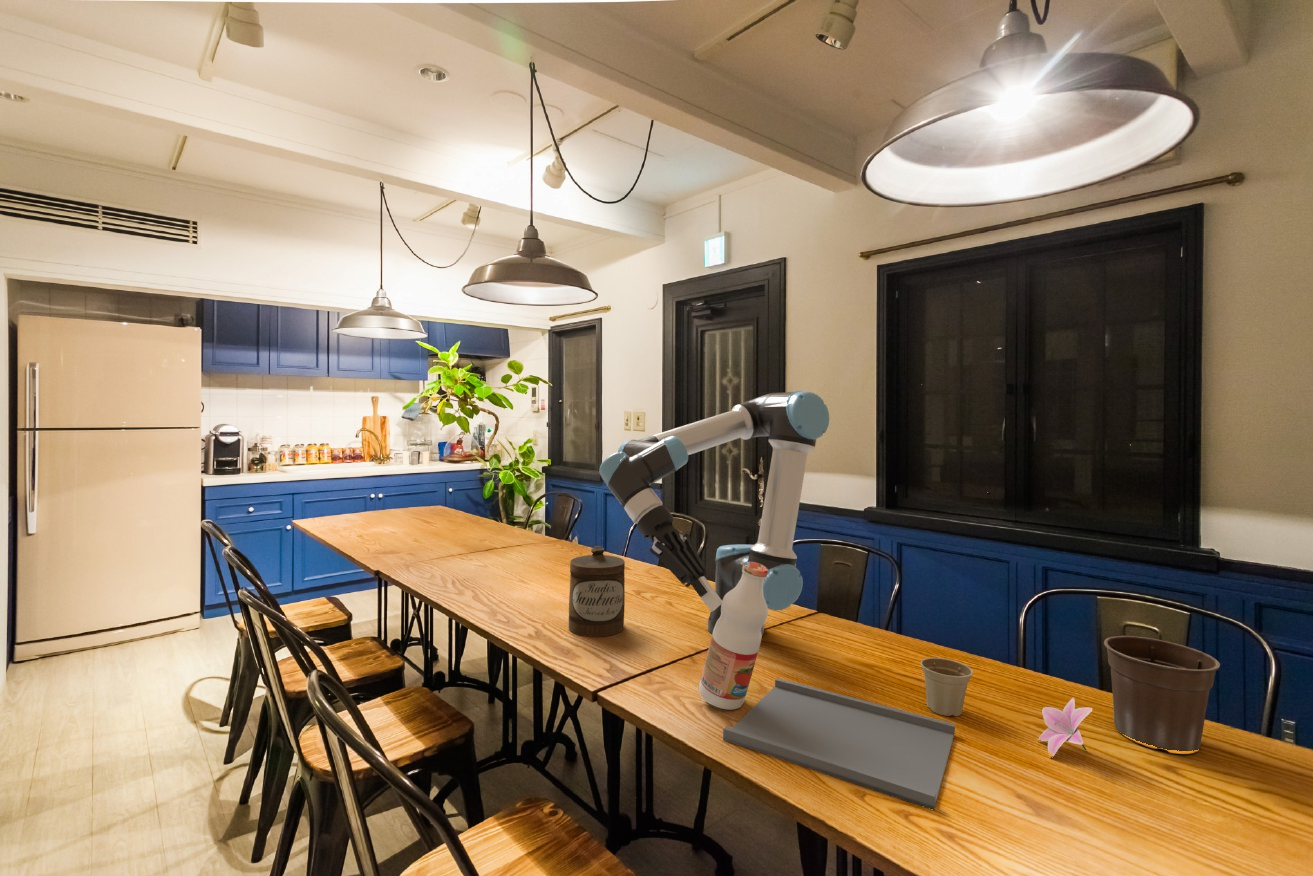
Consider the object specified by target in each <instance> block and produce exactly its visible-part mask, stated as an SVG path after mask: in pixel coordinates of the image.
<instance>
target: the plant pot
mask: <svg viewBox="0 0 1313 876" xmlns="http://www.w3.org/2000/svg"><path fill="white" fill-rule="evenodd" d="M1103 645H1104V647H1105V648H1106V651H1107V661H1108V662H1107V663H1108V665H1109V667H1110V677H1111V690H1112V706H1113V708H1112V709H1113V723H1114V727H1115V729H1117V730H1118V731H1119V732H1121V733H1122V734H1124V735H1126V736H1128V737H1130V738H1132V739H1135V740H1136V741H1140V742H1142V743H1146V744H1148V745H1153V746H1155V747H1157V748H1163V749H1167V750H1177V751H1178V750H1179V751H1192V750H1193V751H1194V750H1198V749H1199V748H1200V749H1201V745H1202V737H1203V732H1204V727H1205V721H1206V714H1207V708H1208V702H1209V696H1210V691H1211V689H1212V688H1213V686H1214V684H1215V683H1214V681H1215V676H1216V671H1218V670H1220V667H1221V663H1220V661H1218V660H1217V659H1216V658H1214V657H1213V656H1211V655H1210V654H1207V653H1206V652H1203V651H1201V650H1198V649H1196V648H1192V647H1188V646H1186V645H1183V644H1179V643H1174V642H1172V641H1167V640H1161V639H1158V638H1157V639H1156V638H1152V637H1144V636H1133V635H1118V636H1111V637H1110V636H1109V637H1107V638H1105V639H1104V641H1103ZM1117 730H1116V731H1117ZM1118 731H1117V732H1118ZM1119 732H1118V733H1119ZM1163 749H1162V750H1163Z"/></svg>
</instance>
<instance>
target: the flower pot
mask: <svg viewBox="0 0 1313 876" xmlns="http://www.w3.org/2000/svg"><path fill="white" fill-rule="evenodd" d="M919 664H920V666H921V668H922V672H923V675H924V685H925V687H924V688H925V695H926V696H925V697H926V706H927V708H929V709H930V711H932V712H933V713H936V714H938V715H940V716H941V715H942V716H944V717H949V716H954V717H959V716H960V715H962V713H963V707H964V702H965V697H966V693H967V687H968V684H969V682H970V681H971V677H972V676H973V675H974V671H973V669H972V668H971V667H969V665H966V664H965V663H962V662H959V661H956V660H953V659H949V658H948V659H947V658H941V657H940V658H939V657H927V658H923V659H921V661H920V663H919Z"/></svg>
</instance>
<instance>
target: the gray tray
mask: <svg viewBox="0 0 1313 876" xmlns="http://www.w3.org/2000/svg"><path fill="white" fill-rule="evenodd" d="M722 730H723V732H722V740H723V741H725V742H728V743H731V744H734V745H737V746H740V747H743V748H746V749H749V750H752V751H756V752H758V753H761V754H764V755H767V756H770V757H772V758H776V759H778V760H782V761H785V762H788V763H790V764H794V765H798V766H800V767H802V768H805V769H807V770H808V769H809V770H812V771H814V772H818V773H821V774H825V775H826V776H829V777H833V778H835V779H839V780H842V781H845V782H848V783H851V784H854V785H857V786H859V787H863V788H866V789H868V790H872V791H875V792H878V793H881V794H884V795H887V796H890V797H893V798H896V799H899V800H902V801H905V802H907V803H911V804H914V805H916V804H917V806H919V805H920V806H919V807H922V806H924V807H923V808H926V809H928V808H930V809H929V810H931V809H933V810H932V811H935V809H936V806H937V802H936V801H938V797H939V795H940V791H939V790H941V787H942V783H943V780H944V776H943V775H945V771H946V769H945V768H947V765H946V764H948V761H949V757H948V756H950V754H949V753H951V750H950V749H952V746H951V745H953V743H954V739H955V735H956V734H955V732H956V724H955V723H953V722H950V721H949V722H948V721H945V720H940V719H936V718H933V717H930V716H925V715H921V714H917V713H914V712H909V711H906V710H902V709H897V708H895V707H892V706H891V707H890V706H886V705H883V704H880V703H879V704H878V703H876V702H872V701H867V700H865V699H864V700H863V699H859V698H856V697H852V696H847V695H844V694H840V693H836V692H832V691H829V690H826V689H821V688H817V687H813V686H810V685H805V684H803V683H802V684H801V683H799V682H795V681H791V680H786V679H783V678H779V677H777V678H775V680H774V687H772V689H770V691H768V692H767V693H766V695H764V696H763V697H762V699H760V700H759V701H758V702H757V703H756V704H755V705H753V707H752V708H751V709H750V710H749V711H748V712H747V713H746V714H744V716H742V718H741V719H739V721H738V722H736V723H735V725H733V726H727V725H726V726H725V727H724V728H723V729H722ZM954 734H955V735H954ZM953 738H954V739H953ZM952 742H953V743H952ZM947 760H948V761H947ZM942 779H943V780H942ZM938 794H939V795H938ZM935 805H936V806H935Z"/></svg>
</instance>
